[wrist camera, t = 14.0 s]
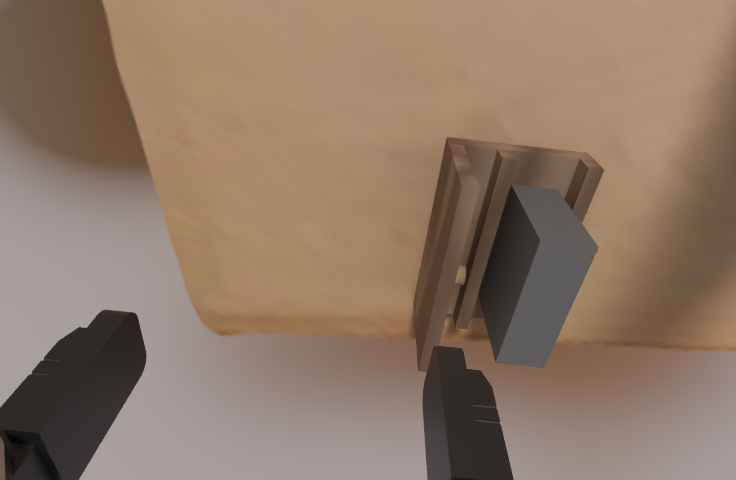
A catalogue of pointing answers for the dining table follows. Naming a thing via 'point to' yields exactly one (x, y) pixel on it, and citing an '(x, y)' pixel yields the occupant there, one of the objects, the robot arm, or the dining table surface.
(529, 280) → the mini frame
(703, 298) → the dining table surface
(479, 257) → the picture ledge
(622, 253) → the dining table surface
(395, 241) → the dining table surface
